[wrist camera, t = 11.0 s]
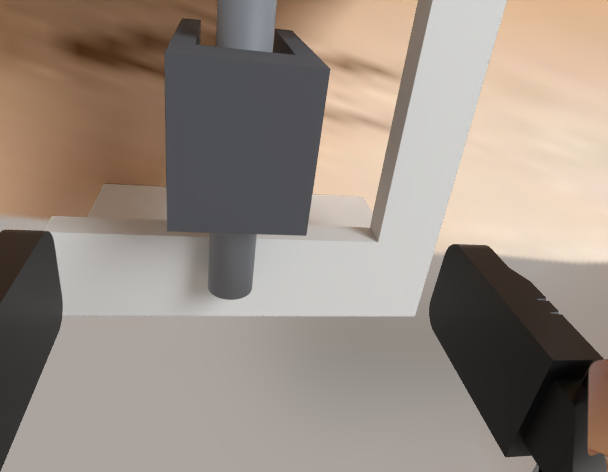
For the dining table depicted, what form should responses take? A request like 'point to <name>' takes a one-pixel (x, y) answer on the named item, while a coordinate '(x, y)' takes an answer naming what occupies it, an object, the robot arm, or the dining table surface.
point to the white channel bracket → (323, 212)
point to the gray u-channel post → (241, 134)
